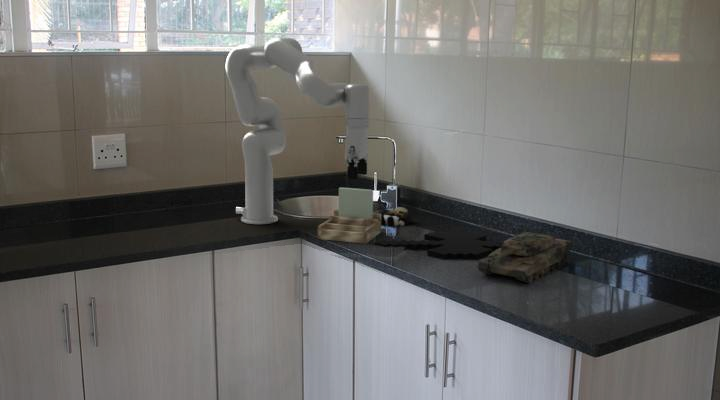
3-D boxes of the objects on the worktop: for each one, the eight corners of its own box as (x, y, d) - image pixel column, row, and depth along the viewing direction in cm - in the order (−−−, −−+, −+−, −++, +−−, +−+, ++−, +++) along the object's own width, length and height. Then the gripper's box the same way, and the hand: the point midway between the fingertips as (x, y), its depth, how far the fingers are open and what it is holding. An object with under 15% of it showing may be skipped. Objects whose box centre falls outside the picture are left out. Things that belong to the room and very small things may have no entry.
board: (338, 230, 266) (338, 188, 263) (340, 229, 268) (340, 187, 265) (370, 233, 262) (371, 190, 260) (372, 232, 264) (373, 189, 262)
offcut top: (337, 226, 258) (337, 219, 257) (341, 223, 262) (341, 216, 262) (362, 228, 256) (362, 220, 256) (365, 225, 260) (365, 217, 260)
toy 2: (464, 283, 215) (465, 247, 213) (528, 256, 243) (530, 223, 241) (509, 294, 207) (511, 256, 205) (570, 264, 235) (572, 230, 233)
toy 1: (367, 214, 275) (387, 195, 287) (370, 234, 279) (389, 214, 290) (400, 219, 269) (419, 200, 281) (403, 239, 273) (421, 219, 284)
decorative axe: (438, 225, 272) (515, 241, 252) (437, 232, 273) (515, 248, 253) (374, 242, 249) (454, 261, 229) (374, 249, 249) (453, 268, 229)
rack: (317, 241, 255) (317, 219, 254) (334, 230, 270) (334, 209, 269) (366, 246, 250) (366, 224, 249) (380, 234, 265) (381, 213, 264)
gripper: (354, 120, 267) (354, 172, 270) (337, 125, 251) (337, 180, 254) (376, 121, 265) (376, 173, 268) (360, 126, 249) (360, 181, 252)
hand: (357, 176), depth 261 cm, fingers open, 9 cm apart
